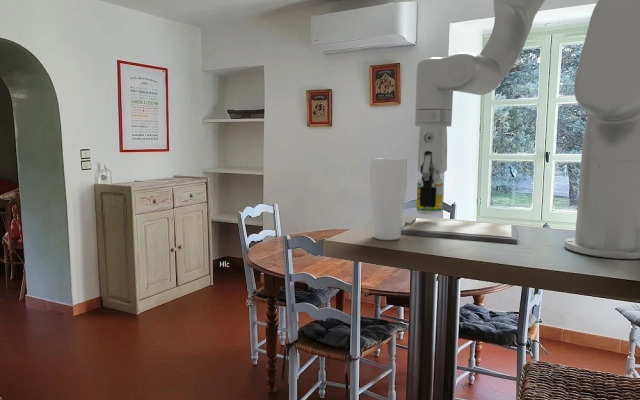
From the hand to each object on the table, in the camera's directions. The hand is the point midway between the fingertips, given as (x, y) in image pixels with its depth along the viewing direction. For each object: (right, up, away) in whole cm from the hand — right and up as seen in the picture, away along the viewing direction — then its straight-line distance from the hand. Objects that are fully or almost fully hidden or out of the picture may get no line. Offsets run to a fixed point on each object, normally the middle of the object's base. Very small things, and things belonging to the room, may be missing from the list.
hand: (429, 203), depth 103 cm
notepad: (+5, -6, -4) cm, 9 cm away
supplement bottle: (0, -2, 0) cm, 2 cm away
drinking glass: (-11, -7, -12) cm, 18 cm away
